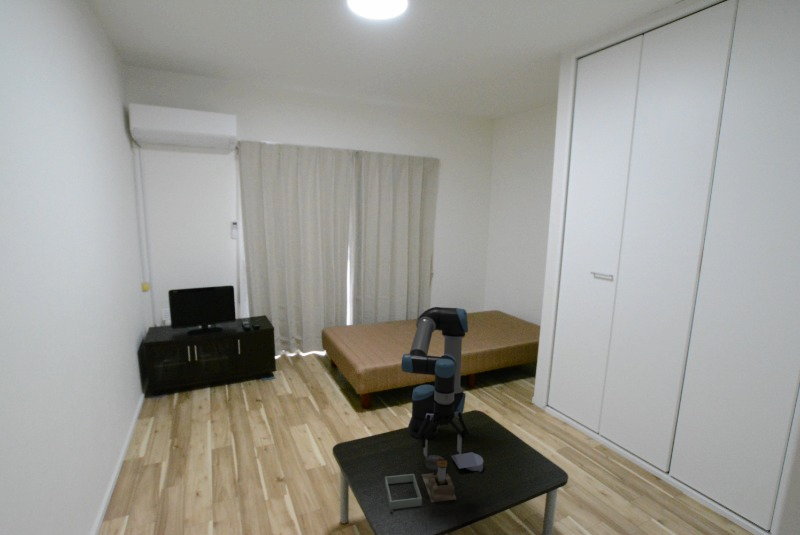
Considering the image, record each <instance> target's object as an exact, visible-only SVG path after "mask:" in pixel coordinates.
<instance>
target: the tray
mask: <svg viewBox="0 0 800 535" xmlns="http://www.w3.org/2000/svg"><path fill="white" fill-rule="evenodd" d="M401 483H403V484H404V483H412V484H413V487H414V491H415V493H416V496H417V497H412V498H405V499H404V498H403V499H402V498H401V499H396V500H393V499H392V496H391V490H390V487H389V485H394V484H401ZM384 488H385V489H384V490H385V494H386V499H387V503H388V507H389V512H390V513H393V512H394V510H397V509H406V508H413V507H421V506H423V497H422V494H421V491H420V488H419V485H418V482H417V478H416V476H415V473H408V474H399V475H398V474H397V475H389V476H384Z"/></svg>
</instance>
